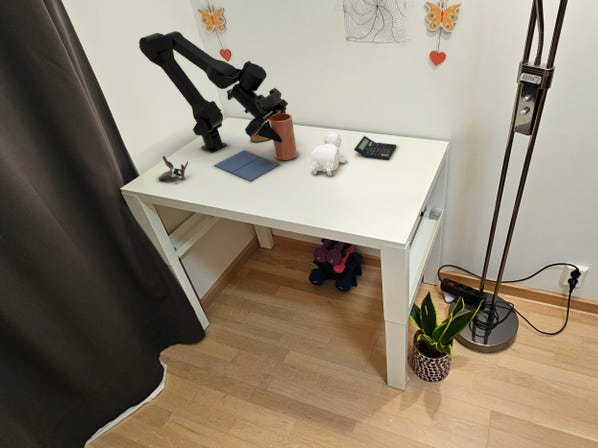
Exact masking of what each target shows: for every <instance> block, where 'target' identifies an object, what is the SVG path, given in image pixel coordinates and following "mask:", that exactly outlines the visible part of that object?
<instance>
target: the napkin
mask: <svg viewBox="0 0 598 448" xmlns="http://www.w3.org/2000/svg"><path fill="white" fill-rule="evenodd" d="M279 166H280V163H279V162H276V161H273V160H270V159H268V158H265V157H262V156H261V155H260V156H259V155H257V154H254V153H252V152H249V151H246V150H242V151H240V152H237V153H236V154H233V155H231V156H230V157H228V158H225V159H223V160H222V161H219V162H217V163H216V164H214V167H216V168H218V169H221V170H222V171H225V172H227V173H231V174H232V175H234V176H237V177H239V178H241V179H243V180H245V181H248V182H252V181H254V180H256V179H258V178H259V177H261V176H263V175H265V174H266V173H268V172H270V171H272V170H274V169H275V168H277V167H279Z"/></svg>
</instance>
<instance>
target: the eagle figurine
mask: <svg viewBox="0 0 598 448" xmlns="http://www.w3.org/2000/svg"><path fill="white" fill-rule="evenodd" d="M162 160H163V161H164V164H165V166H166V167H167V168H169V170H167V171H165V172H163V173H162V174H161V176H159V177H158V181H161V180H168V179H169V178H170V177H174V175H175V176H178V177H181V179H182V180H185V172H186V169H187V167H188V165H189V161H188V160H187V161H186V163H185V165H184V164H180V168H176V167H175V166H174V164H172V162H170V161H168V159H167V158H166V156H165V155H162Z"/></svg>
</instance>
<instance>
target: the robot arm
mask: <svg viewBox="0 0 598 448" xmlns="http://www.w3.org/2000/svg"><path fill="white" fill-rule="evenodd" d="M138 43H139V46H138V48H139V50H140V52H141V53H142V54H143V55H144V56H145V57H146V58H147V59H148V61H149V62H151V63H152V64H154V65H156V66H158V67H160V68H161V69H162V70H163V72H164V73H165V74H166V76H167V77H168V78H169V80H170V81H171V83H173V85H174V86H175V87H176V89H177V90H178V92H179V93H180V94H181V95H182V96H183V98H184V99H185V101H186V102H187V104H188V105H189V106H190V108H191V111H192V116H193V117H192V118H193V119H194V120H195V122H196V123H195V125H194V126H193V128H192V131H193V133H194V135H195V136H199V137H201V138H202V141H203V144H204V145H201V149H202V150H205V151H207V152H209V153H214V152H216V151H218V150H220V149H223V148H224V147H226V146H228V144H227V143H225V142H223V140H222V137H221V134H220V131H219V128H222V127H223V122H224V121H223V120H224V115H223V112H222V111H223V110H222V109H221V108H220V107H219V106H218V105H217V103H216V101H214V100H211V101H209V100H207V99H205V97H204V96H203V95H202V94H201V92H200V91H199V90H198V88H197V87H196V86H195V84H194V83H193V81H192V80H191V79H190V77H189V76H188V75H187V73H186V72H185V71H184V69H183V67H181V65H180V64H179V62H177V60H176V58H175V53H174V51H175V52H176V53H177V54H179V55H180V56H182V57H183V58H184V59H186V60H187V61H188V62H190V63H191V64H193V65H195V66H196V67H197V68H199V69H200V70H201V71H203V72H204V73H205V75H206V76H207V79H208V80H209V81H210V82H211V83H212V84H213V85H214V86H215V87H216V88H218V89H221V90H225V89H228V88H229V87H231V86H232V88H229V89H228V90H226V94H227V101H231V100H232V99H235V100H236V101H237V102H238V103H239V104H240V105H241V107H243V108H244V109H245V110H244V113H245V114H250V115H251V116H252V117H253V119H251V120H250V122H249V123H248V124H247V126H246V127H245V128H244V131H245V134H246V135H247V136H248V137H249V138H250V137H252V136H253V135H254V134H255V133H256V132H257V134H256V136H262V137H265V138H268V139H269V140H272V141H273V140H274V141H277V142H280V143H281V142H282V141H283V140H282V139H281V138H280V136H279V135H278V134H277V133H276V132H275V131H274V130H273V129H272V128H271V126H270V122H269V117H270V116H272V115H274V114H279V113H287V106H288V105H289V102H287V101H286V99H284V98H281V97H282V92H281V91H280V90H278V88H276V87H274V88H272V89H270V90H269V91H268V92H269V93H268V94H267V95H266V96H264V95H263V94H262V93H260V94H257V93H256V92H257V91H258V90H259V88H260V87H261V85H262V84H263V83H264V81H265V80H266V78H267V75H268V74H267V72H266V70H265V69H264V68H263V67H262V66H261V65H259V64H257V63H253V62H252V61H250V60H248V61H245V62H244V63H243V66H242V68H238V67H237V68H236V67H235V66H234V65H232V64H230V63H229V62H227V61H225V60H221V59H217V58H215V57H213V56H211V55H210V54H209V53H207V52H206V51H204V50H202V48H200V47H198V45H196V44H195V43H194V42H192V41H190V40H188V38H186V37H185V36H184V35H183V34H182V33H181V32H180V31H176V30H175V31H171V32H168V33H165V34H163V33H160V32H155V33H151V34H149V35H148V34H147V35H146V36H142V37H140V38H139V41H138Z"/></svg>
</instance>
